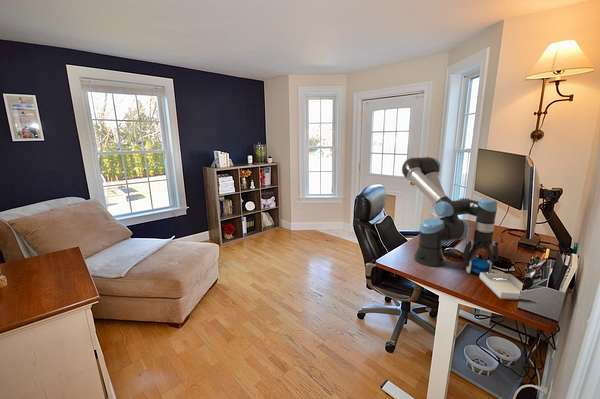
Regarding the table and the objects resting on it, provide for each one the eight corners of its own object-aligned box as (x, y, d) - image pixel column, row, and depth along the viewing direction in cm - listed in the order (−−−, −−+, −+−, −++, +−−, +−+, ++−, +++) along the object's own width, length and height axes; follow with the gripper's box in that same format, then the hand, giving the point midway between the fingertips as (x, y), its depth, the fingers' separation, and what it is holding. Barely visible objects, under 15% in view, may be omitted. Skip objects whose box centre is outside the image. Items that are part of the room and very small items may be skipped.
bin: (500, 298, 112) (501, 292, 112) (479, 277, 129) (480, 272, 129) (535, 301, 110) (537, 294, 110) (509, 279, 127) (510, 274, 127)
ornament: (476, 268, 139) (478, 250, 137) (492, 275, 132) (495, 257, 129) (464, 270, 137) (466, 252, 135) (479, 278, 129) (482, 259, 127)
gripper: (463, 232, 127) (458, 274, 132) (512, 233, 124) (505, 277, 129) (457, 227, 134) (452, 267, 139) (503, 228, 131) (496, 270, 136)
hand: (478, 272), depth 134 cm, fingers closed on ornament, 9 cm apart
